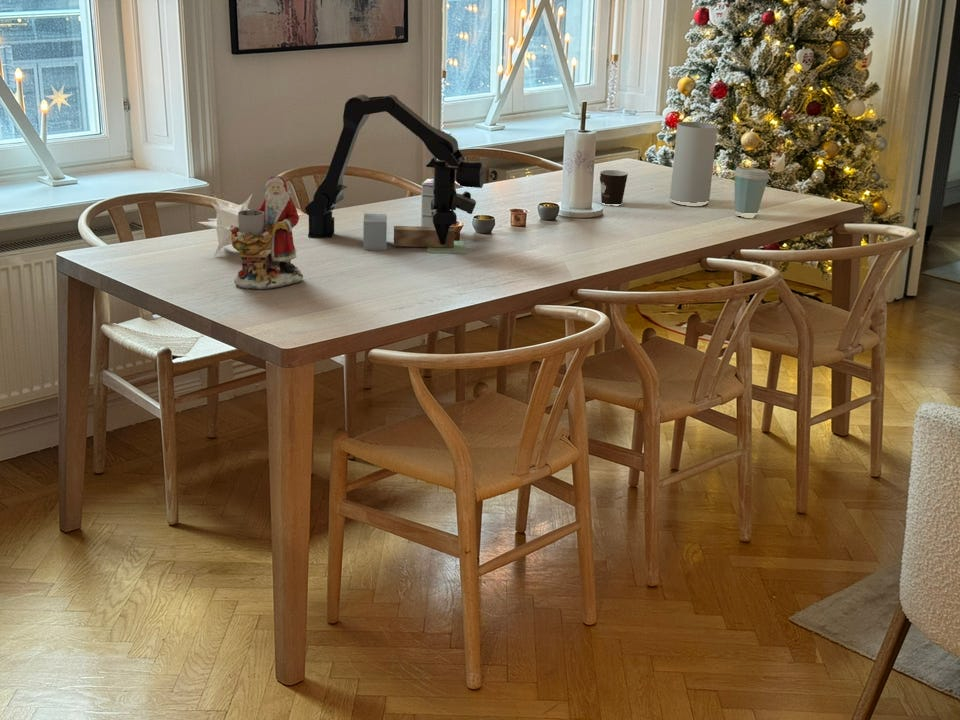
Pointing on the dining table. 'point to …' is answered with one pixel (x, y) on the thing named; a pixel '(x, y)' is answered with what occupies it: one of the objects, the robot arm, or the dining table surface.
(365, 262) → the dining table surface
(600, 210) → the dining table surface
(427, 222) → the syrup box
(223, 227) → the star ornament
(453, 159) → the robot arm
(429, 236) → the walnut block
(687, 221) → the dining table surface
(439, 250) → the green mat
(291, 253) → the santa figurine
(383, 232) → the upright grey block
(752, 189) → the disposable coffee cup
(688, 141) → the cylinder vase
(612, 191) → the coffee mug
